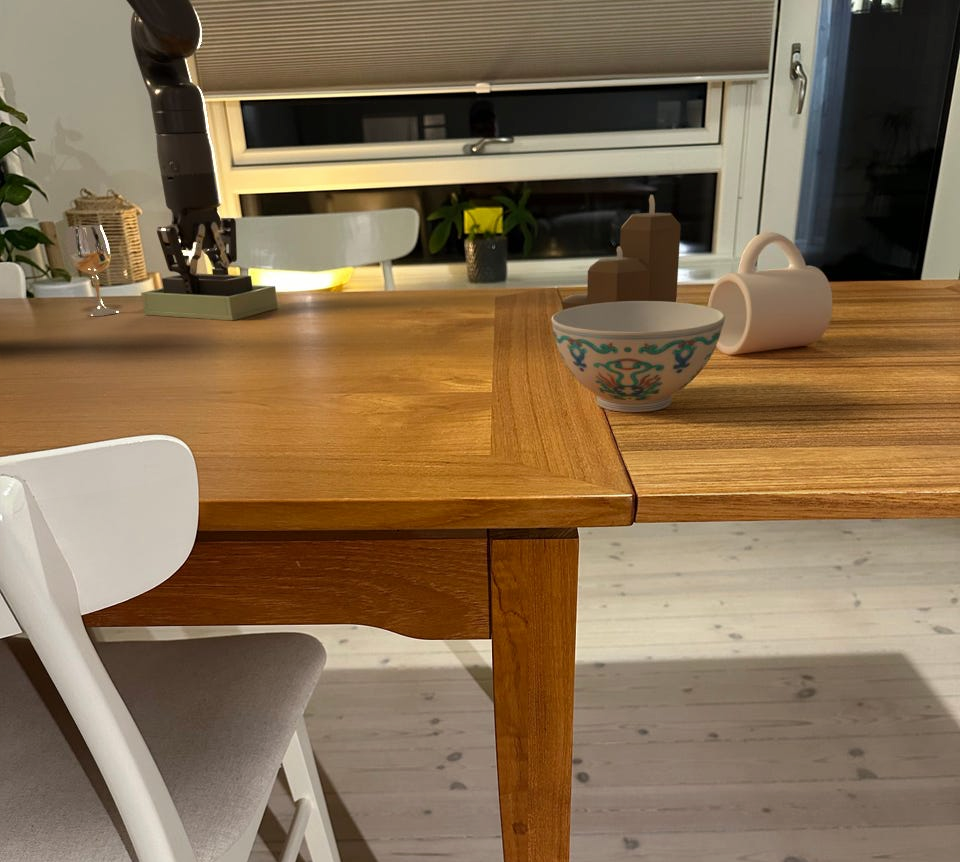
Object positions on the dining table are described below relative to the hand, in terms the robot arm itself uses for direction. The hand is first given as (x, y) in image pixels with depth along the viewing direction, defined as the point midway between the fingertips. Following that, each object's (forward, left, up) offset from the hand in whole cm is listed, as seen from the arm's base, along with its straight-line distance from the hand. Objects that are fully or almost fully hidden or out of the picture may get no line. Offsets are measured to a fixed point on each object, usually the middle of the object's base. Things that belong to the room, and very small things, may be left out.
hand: (209, 298), depth 140 cm
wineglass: (-16, -6, -2) cm, 17 cm away
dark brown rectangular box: (0, 0, -1) cm, 1 cm away
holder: (0, 0, -2) cm, 2 cm away
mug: (+81, -2, -2) cm, 81 cm away
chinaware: (+75, -28, -2) cm, 80 cm away
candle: (+63, +3, -2) cm, 63 cm away
